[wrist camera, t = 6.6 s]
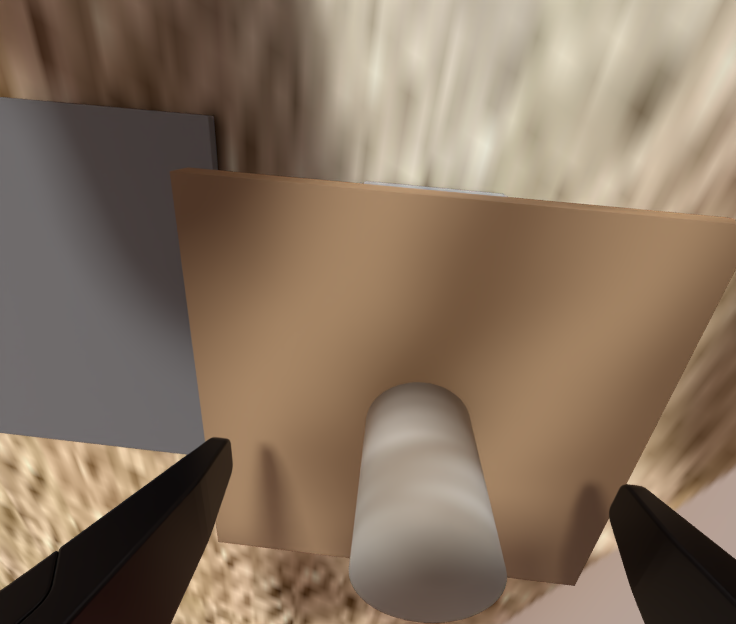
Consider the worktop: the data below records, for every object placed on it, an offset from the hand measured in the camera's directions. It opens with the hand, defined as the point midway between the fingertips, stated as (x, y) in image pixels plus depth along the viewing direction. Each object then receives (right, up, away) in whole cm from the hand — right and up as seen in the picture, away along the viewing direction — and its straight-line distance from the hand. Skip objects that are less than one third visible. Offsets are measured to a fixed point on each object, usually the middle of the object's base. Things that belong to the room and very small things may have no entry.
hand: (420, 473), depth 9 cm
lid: (0, +1, +2) cm, 3 cm away
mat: (-13, +4, +6) cm, 15 cm away
